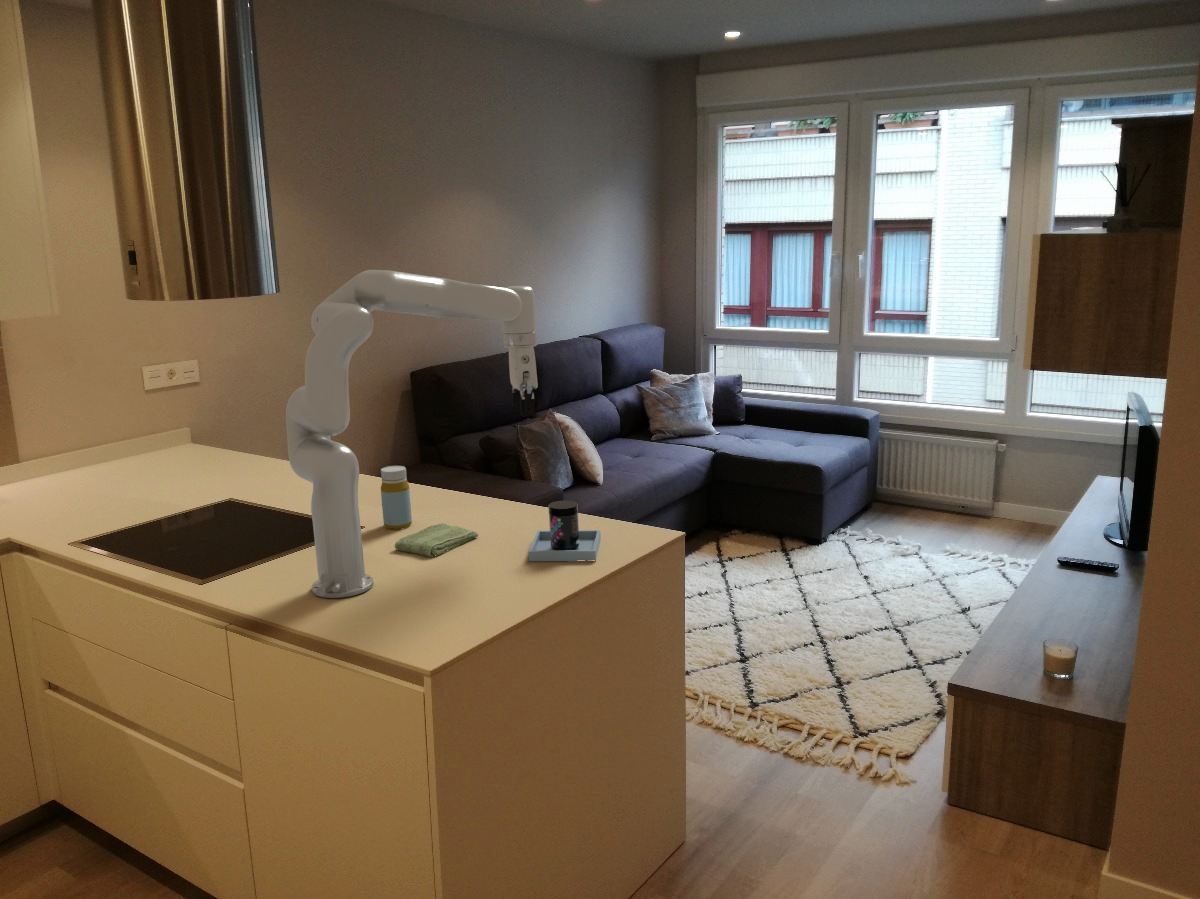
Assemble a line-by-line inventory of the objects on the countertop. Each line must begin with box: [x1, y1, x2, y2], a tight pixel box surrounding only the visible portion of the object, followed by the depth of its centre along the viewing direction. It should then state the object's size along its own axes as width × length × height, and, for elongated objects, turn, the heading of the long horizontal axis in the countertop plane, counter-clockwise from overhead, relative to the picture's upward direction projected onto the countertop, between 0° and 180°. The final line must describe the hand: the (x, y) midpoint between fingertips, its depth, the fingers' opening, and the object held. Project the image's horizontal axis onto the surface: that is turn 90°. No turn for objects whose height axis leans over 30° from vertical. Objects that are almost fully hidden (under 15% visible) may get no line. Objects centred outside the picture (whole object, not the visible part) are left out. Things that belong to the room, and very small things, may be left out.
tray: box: [528, 529, 602, 562], centre depth 228 cm, size 15×15×2 cm
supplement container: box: [548, 500, 580, 550], centre depth 227 cm, size 7×7×10 cm
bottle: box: [380, 465, 413, 530], centre depth 250 cm, size 7×7×15 cm
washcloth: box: [394, 522, 479, 558], centre depth 236 cm, size 13×18×3 cm
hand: (523, 412), depth 234 cm, fingers open, 9 cm apart
